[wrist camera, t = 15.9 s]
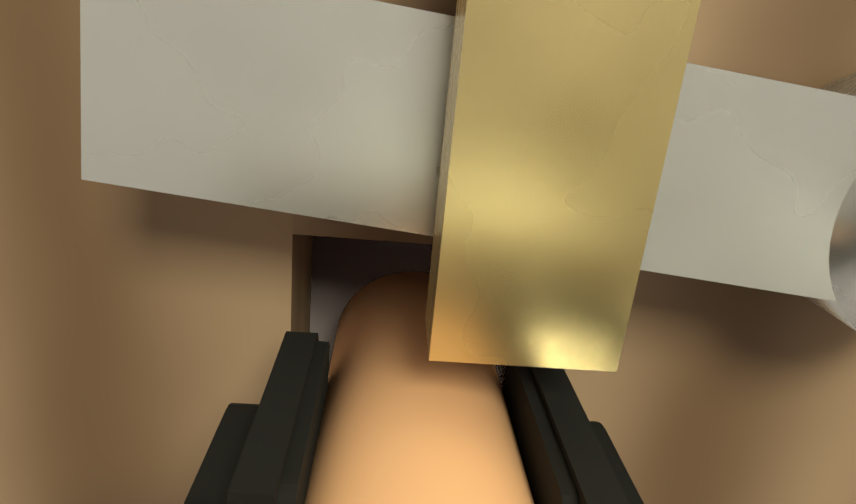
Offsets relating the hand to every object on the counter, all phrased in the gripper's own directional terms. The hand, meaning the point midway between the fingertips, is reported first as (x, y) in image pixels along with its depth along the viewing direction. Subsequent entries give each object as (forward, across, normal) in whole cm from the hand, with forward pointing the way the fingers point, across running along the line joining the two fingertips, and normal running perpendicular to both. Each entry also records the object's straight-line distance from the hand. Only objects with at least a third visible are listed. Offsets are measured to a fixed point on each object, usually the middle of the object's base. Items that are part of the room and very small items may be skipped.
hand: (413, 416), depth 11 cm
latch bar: (+2, -3, -5) cm, 6 cm away
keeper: (+2, -1, -6) cm, 6 cm away
